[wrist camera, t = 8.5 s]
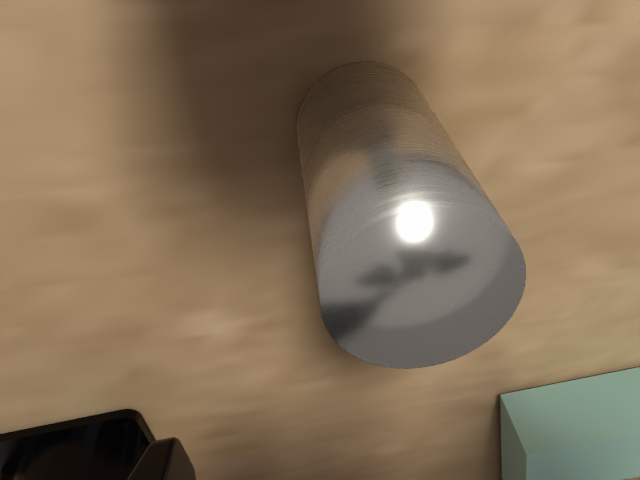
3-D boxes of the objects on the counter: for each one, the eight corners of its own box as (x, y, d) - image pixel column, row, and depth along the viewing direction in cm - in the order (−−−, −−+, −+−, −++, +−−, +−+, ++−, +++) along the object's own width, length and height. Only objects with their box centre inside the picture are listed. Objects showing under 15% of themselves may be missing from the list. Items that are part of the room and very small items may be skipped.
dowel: (310, 196, 19) (339, 384, 13) (283, 78, 17) (300, 233, 10) (432, 170, 19) (525, 347, 12) (420, 48, 17) (527, 185, 10)
